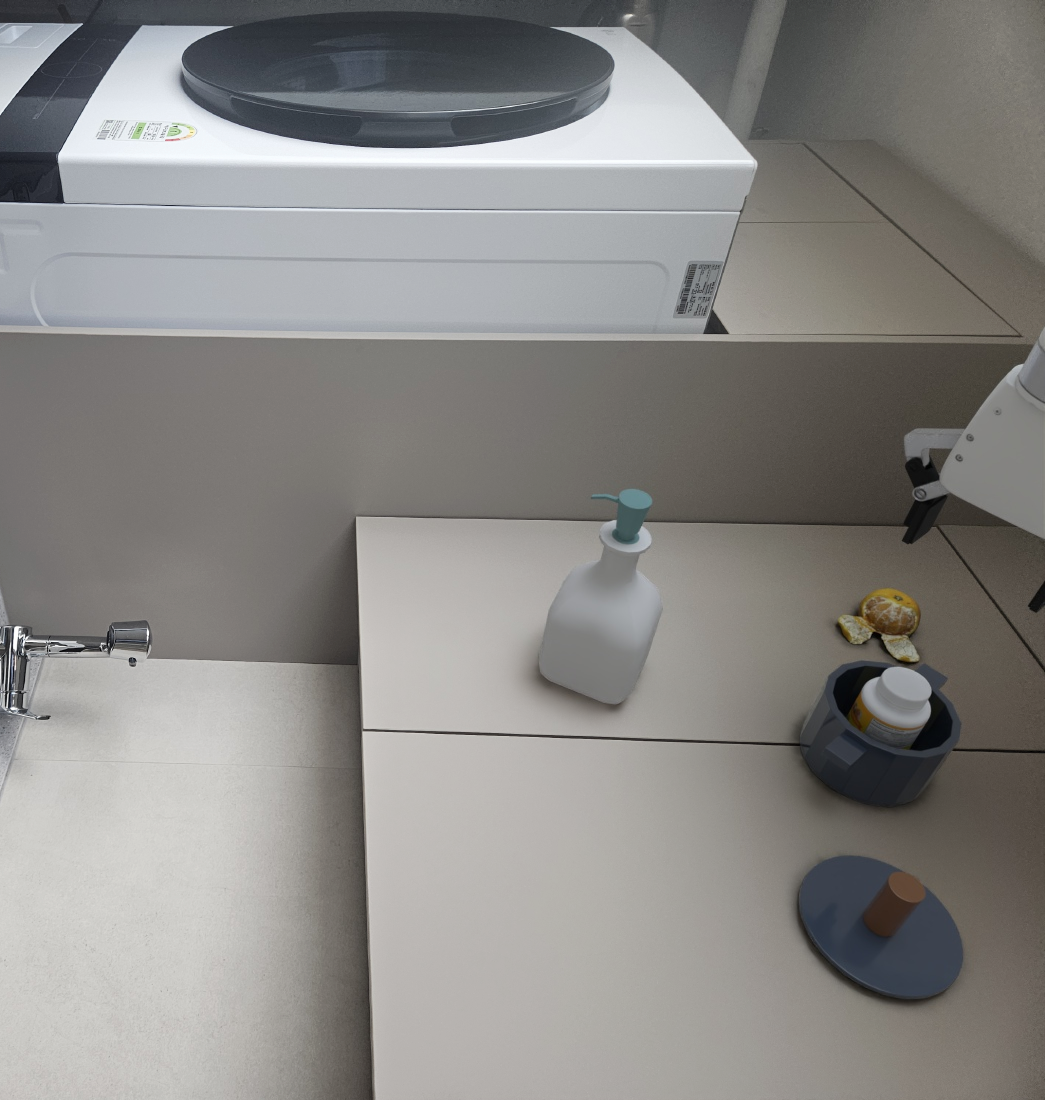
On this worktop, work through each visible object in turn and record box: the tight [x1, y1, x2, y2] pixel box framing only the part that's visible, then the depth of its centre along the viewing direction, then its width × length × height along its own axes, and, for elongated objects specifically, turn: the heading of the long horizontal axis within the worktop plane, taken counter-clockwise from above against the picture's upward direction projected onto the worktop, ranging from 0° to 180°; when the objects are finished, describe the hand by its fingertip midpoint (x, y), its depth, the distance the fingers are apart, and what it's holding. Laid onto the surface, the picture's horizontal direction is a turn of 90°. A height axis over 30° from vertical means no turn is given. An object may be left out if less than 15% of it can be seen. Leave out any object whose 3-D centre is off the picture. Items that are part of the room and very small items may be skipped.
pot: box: [799, 659, 962, 807], centre depth 88 cm, size 11×16×8 cm
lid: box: [798, 854, 964, 1000], centre depth 76 cm, size 12×12×7 cm
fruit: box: [837, 587, 922, 663], centre depth 102 cm, size 8×8×4 cm
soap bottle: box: [538, 488, 664, 705], centre depth 92 cm, size 10×10×23 cm
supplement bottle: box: [846, 666, 931, 750], centre depth 87 cm, size 6×6×10 cm
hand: (975, 568), depth 75 cm, fingers open, 9 cm apart
